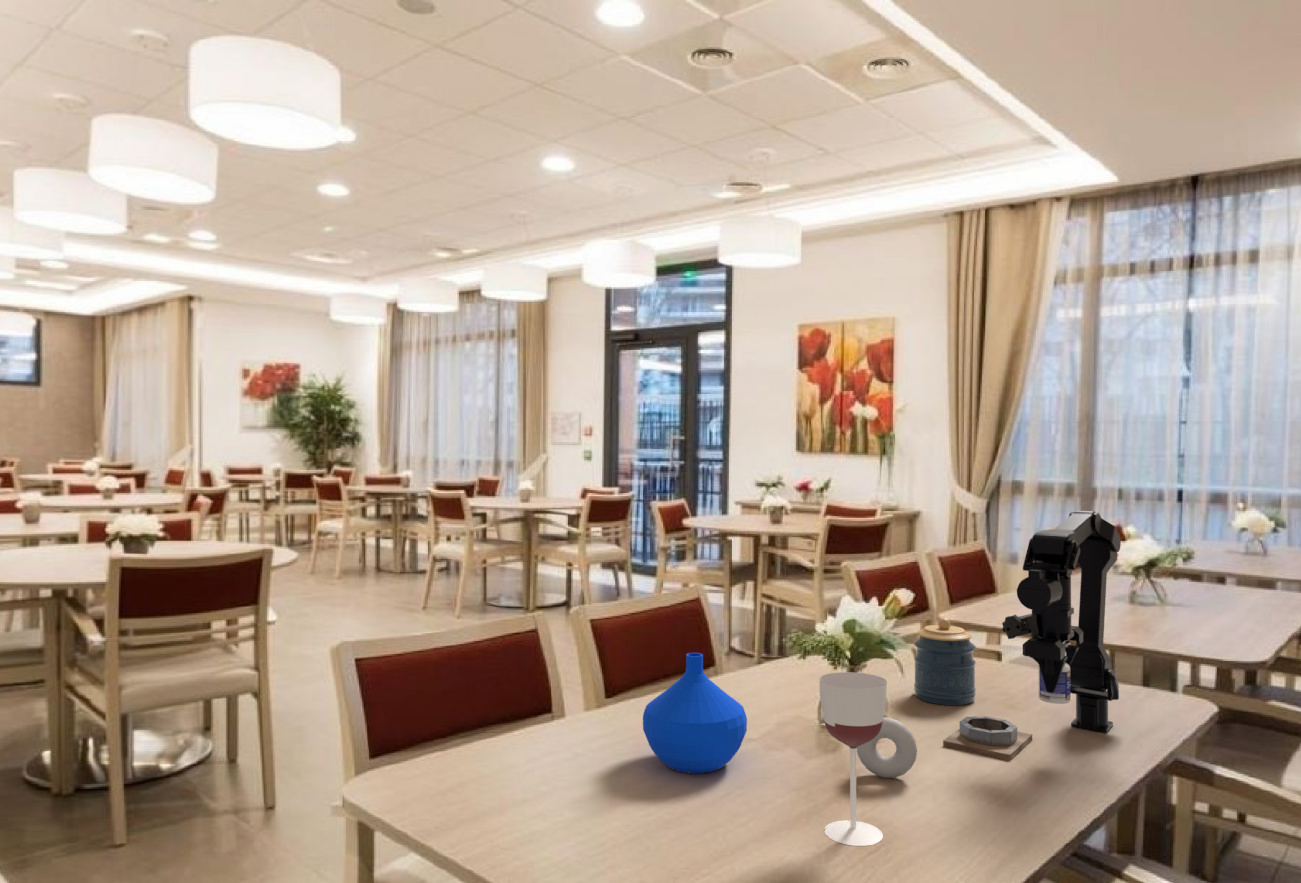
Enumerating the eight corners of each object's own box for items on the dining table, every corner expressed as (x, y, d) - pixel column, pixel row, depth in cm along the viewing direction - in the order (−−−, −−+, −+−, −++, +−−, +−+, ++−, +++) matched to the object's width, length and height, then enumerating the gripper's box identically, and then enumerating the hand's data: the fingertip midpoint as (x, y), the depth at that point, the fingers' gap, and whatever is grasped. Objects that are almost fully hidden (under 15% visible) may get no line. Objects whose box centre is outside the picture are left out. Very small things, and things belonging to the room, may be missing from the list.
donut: (917, 777, 146) (917, 717, 146) (916, 784, 143) (916, 724, 143) (857, 770, 149) (856, 711, 149) (854, 777, 146) (854, 717, 146)
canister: (984, 706, 186) (984, 624, 186) (924, 706, 186) (923, 624, 186) (963, 689, 199) (963, 612, 199) (907, 689, 199) (906, 612, 199)
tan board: (968, 727, 172) (968, 721, 172) (1032, 739, 165) (1032, 734, 165) (943, 745, 161) (943, 740, 161) (1010, 760, 154) (1010, 754, 154)
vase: (760, 754, 157) (760, 648, 157) (726, 790, 140) (725, 672, 140) (668, 740, 165) (667, 639, 165) (624, 773, 148) (624, 661, 148)
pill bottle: (1074, 705, 153) (1074, 655, 153) (1042, 703, 154) (1042, 654, 154) (1065, 696, 159) (1065, 648, 159) (1035, 695, 160) (1034, 647, 160)
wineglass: (812, 821, 129) (812, 673, 129) (875, 818, 130) (874, 671, 130) (829, 848, 120) (829, 689, 120) (896, 845, 121) (896, 687, 121)
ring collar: (971, 726, 169) (971, 713, 169) (1021, 736, 164) (1021, 722, 164) (954, 738, 162) (954, 725, 162) (1006, 749, 156) (1006, 735, 156)
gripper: (1021, 591, 169) (1021, 671, 169) (992, 605, 154) (992, 692, 154) (1083, 597, 162) (1084, 680, 162) (1059, 612, 147) (1060, 704, 147)
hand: (1054, 688), depth 156 cm, fingers closed on pill bottle, 5 cm apart
